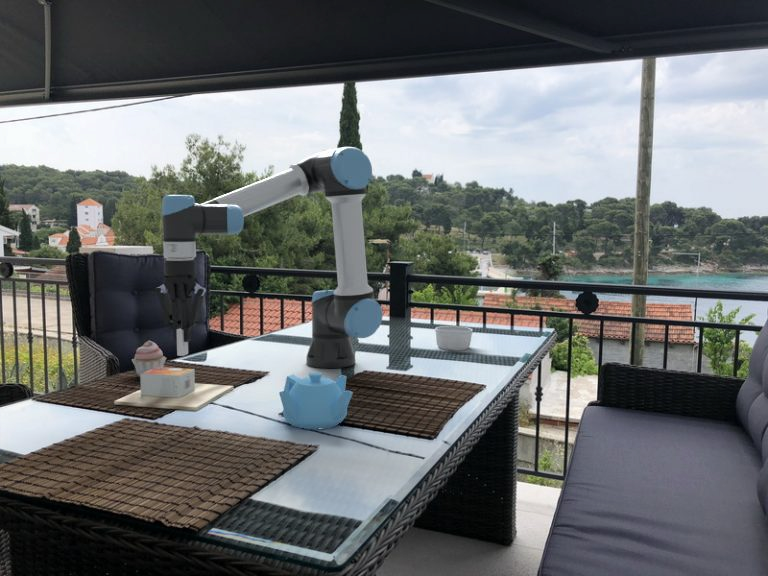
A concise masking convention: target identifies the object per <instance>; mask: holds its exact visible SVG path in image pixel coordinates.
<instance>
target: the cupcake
mask: <svg viewBox="0 0 768 576" xmlns="http://www.w3.org/2000/svg"><path fill="white" fill-rule="evenodd" d="M166 360H167V357H166V356H164V354H163V351H162V350H161V348H159V346H158V345H157V343H155V342H154V341H151V340H147V341H146V342H144V344H143V345H142V346H140V347H138V348H136V352H135V354H134V358H132V359H131V362H132V363H133V365H134V369H135V372H136V375H137V376H138V377H139V378H140V374H141V373H143V372H146V371H148V370H151V369H153V368H156V367H164V365H165V363H166Z"/></svg>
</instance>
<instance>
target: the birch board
mask: <svg viewBox="0 0 768 576" xmlns="http://www.w3.org/2000/svg"><path fill="white" fill-rule="evenodd" d="M233 390H234V385H225V384H224V385H223V384H212V383H211V384H210V383H208V384H207V383H196V382H195V390H193V391H192V392H190V393H188V394H186V395H184V396H182V397H180V398H173V397H158V396H144V395H141V389H139V390H137V391H134V392H132V393H130V394H127V395H125V396H123V397H121V398H118V399H116V400H114V401H113V402H114V405H116V406H117V405H118V406H119V405H120V406H129V407H130V406H132V407H142V408H143V407H144V408H156V409H157V408H159V409H170V410H171V409H172V410H181V411H182V410H183V411H198V410H201V408H204V407H206V406H207V405H208V404H210V403H212V402H214V401H216V400H217V399H218V398H221V397H222V396H224V395H225V394H228V393H229V392H231V391H233Z"/></svg>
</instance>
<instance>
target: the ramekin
mask: <svg viewBox="0 0 768 576" xmlns="http://www.w3.org/2000/svg"><path fill="white" fill-rule="evenodd" d="M434 332H435V337H436V338H435V339H436V345H437V347H438V349H441V350H443V351H444V350H445V351H465V350H468V349H469V348H470V345H471V342H472V336H473V333H474V332H473V328H470V327H466V326H461V325H460V326H459V325H441V326H436V327H435V329H434Z"/></svg>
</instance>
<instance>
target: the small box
mask: <svg viewBox="0 0 768 576" xmlns="http://www.w3.org/2000/svg"><path fill="white" fill-rule="evenodd" d="M195 372H196V371H195V368H181V367H167V366H166V367H165V366H163V367H156V368H153V369H151V370H148V371H146V372H143V373H141V374H140V377H139V378H140V381H139V382H140V390H141V395H144V396H158V397H173V398H180V397H182V396H184V395H186V394H188V393H190V392H192V391H193V390H195V383H196V382H195V381H196V379H195V376H196V374H195Z"/></svg>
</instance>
